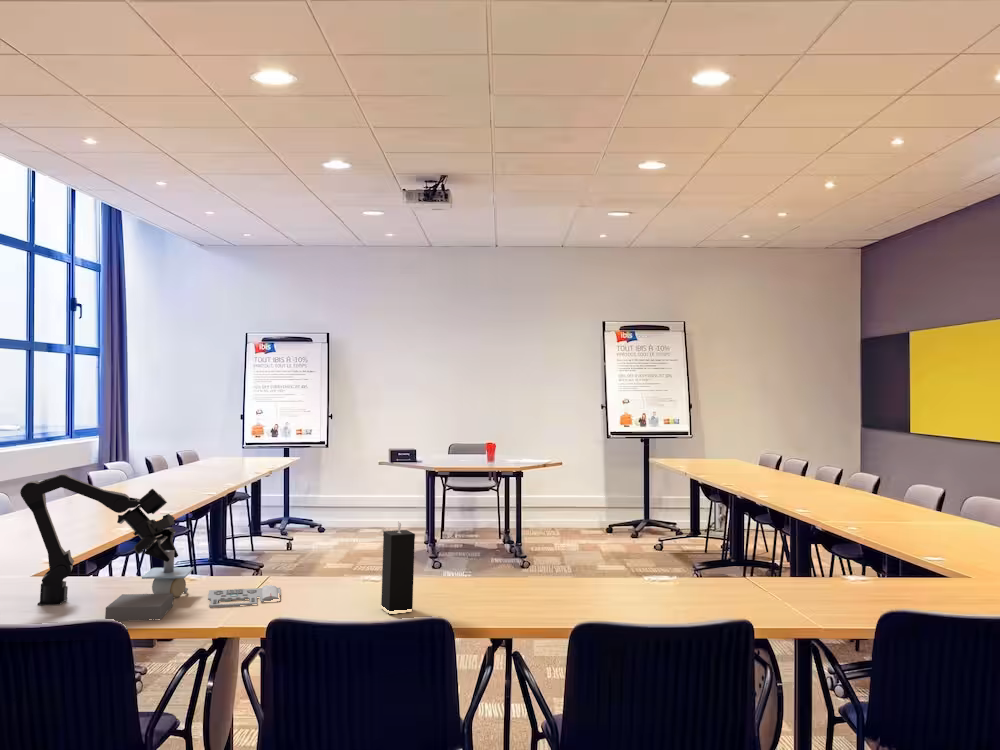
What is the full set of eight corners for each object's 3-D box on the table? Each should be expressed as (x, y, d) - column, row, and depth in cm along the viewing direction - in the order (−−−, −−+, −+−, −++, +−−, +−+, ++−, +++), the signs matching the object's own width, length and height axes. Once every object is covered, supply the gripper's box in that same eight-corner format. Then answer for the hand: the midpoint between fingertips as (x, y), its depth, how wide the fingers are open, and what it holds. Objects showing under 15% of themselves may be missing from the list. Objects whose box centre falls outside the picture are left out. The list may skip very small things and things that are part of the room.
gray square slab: (105, 621, 215) (105, 607, 215) (121, 607, 230) (122, 594, 230) (159, 620, 218) (160, 606, 218) (172, 606, 232) (173, 593, 232)
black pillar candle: (388, 615, 228) (391, 524, 229) (380, 609, 235) (383, 520, 236) (412, 612, 232) (415, 523, 233) (404, 606, 239) (406, 519, 240)
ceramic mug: (171, 600, 238) (172, 576, 239) (150, 598, 241) (152, 574, 241) (194, 593, 248) (195, 570, 249) (174, 591, 251) (175, 568, 251)
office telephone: (280, 583, 258) (283, 597, 239) (280, 590, 258) (282, 605, 239) (209, 586, 250) (206, 601, 231) (208, 593, 250) (205, 609, 231)
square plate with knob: (141, 578, 236) (142, 555, 236) (152, 569, 248) (153, 547, 249) (184, 578, 238) (185, 554, 238) (193, 568, 251) (194, 546, 251)
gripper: (146, 511, 235) (179, 547, 234) (171, 503, 253) (202, 536, 253) (119, 535, 234) (153, 571, 234) (147, 526, 253) (178, 559, 252)
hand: (173, 558), depth 243 cm, fingers open, 6 cm apart
